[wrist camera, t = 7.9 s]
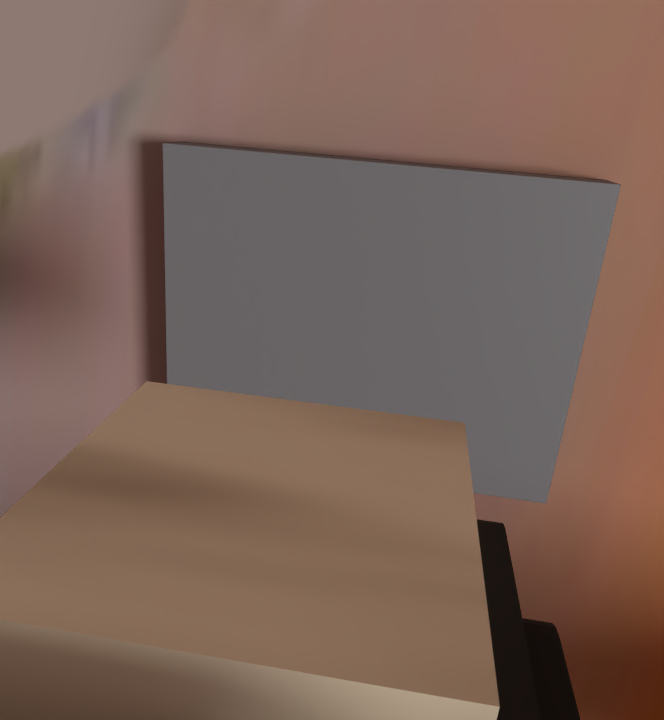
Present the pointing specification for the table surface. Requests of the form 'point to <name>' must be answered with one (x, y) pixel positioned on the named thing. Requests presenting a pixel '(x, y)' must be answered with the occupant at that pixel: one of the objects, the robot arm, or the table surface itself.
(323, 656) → the beech cube
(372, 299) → the serving board
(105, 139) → the table surface
